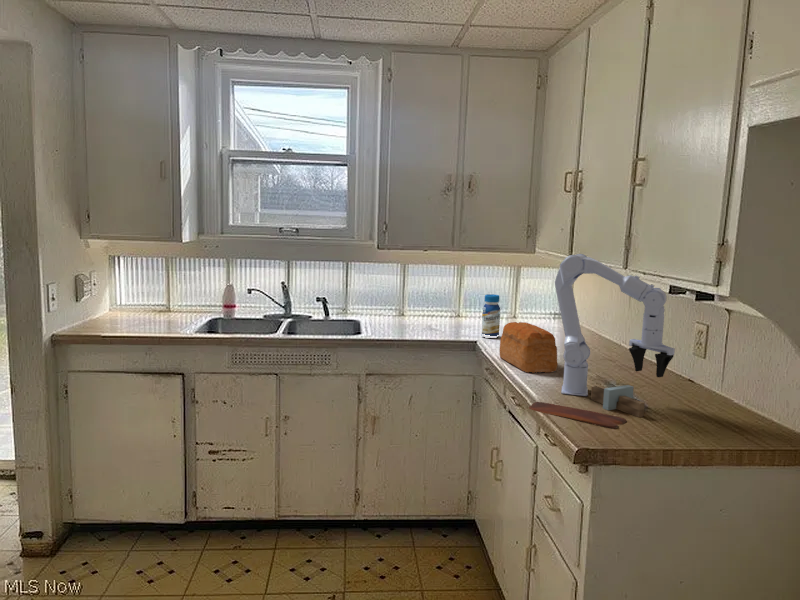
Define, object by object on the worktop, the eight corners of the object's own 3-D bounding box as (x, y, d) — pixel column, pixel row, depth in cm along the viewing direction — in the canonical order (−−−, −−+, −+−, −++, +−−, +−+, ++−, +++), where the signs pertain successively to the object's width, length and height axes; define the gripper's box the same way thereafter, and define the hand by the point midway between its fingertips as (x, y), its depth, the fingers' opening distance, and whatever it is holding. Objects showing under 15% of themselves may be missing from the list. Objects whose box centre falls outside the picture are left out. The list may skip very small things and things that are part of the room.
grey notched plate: (608, 410, 170) (609, 390, 169) (602, 408, 172) (604, 388, 171) (632, 406, 175) (633, 386, 174) (626, 404, 176) (628, 384, 176)
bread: (528, 355, 238) (530, 319, 236) (560, 372, 212) (562, 331, 210) (496, 356, 235) (497, 319, 233) (524, 374, 209) (526, 332, 207)
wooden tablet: (627, 422, 162) (628, 416, 162) (616, 432, 154) (616, 426, 154) (538, 402, 178) (538, 397, 178) (523, 410, 170) (523, 404, 170)
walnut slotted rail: (590, 399, 180) (591, 386, 180) (595, 398, 181) (596, 386, 181) (638, 417, 165) (639, 403, 164) (643, 416, 165) (644, 402, 165)
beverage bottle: (499, 336, 277) (501, 294, 275) (499, 339, 269) (501, 296, 266) (481, 335, 279) (483, 293, 276) (480, 338, 271) (482, 295, 268)
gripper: (683, 332, 169) (679, 378, 171) (641, 324, 182) (638, 366, 184) (666, 334, 166) (662, 380, 168) (625, 325, 179) (622, 369, 181)
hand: (648, 373), depth 176 cm, fingers open, 7 cm apart
